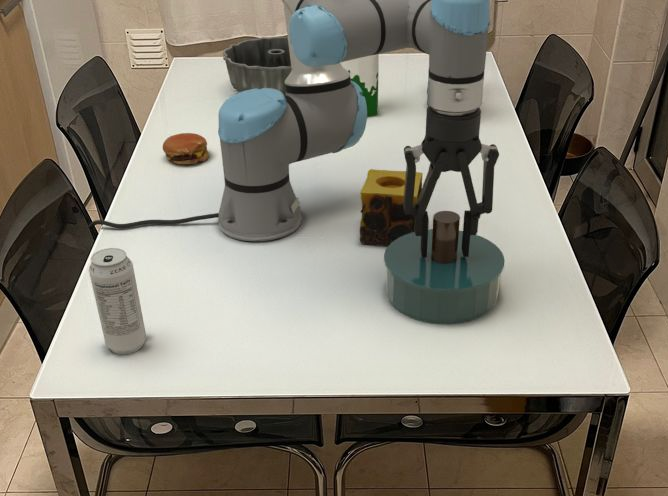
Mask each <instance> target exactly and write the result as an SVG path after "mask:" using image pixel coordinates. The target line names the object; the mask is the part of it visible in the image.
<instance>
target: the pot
mask: <svg viewBox="0 0 668 496" xmlns="http://www.w3.org/2000/svg"><path fill="white" fill-rule="evenodd" d="M385 277H386V279H385V288H386V289H385V290H386V299H387V300H388V302H389V304H390V305H391V306H392V307H393V308H394V309H395V310H396V311H397V312H399V313H400V314H402V315H404V316H406V317H408V318H410V319H413V320H416V321H419V322H423V323H428V324H436V325H456V324H457V325H458V324H463V323H468V322H472V321H475V320H477V319H479V318H481V317H483V316H485V315H487V314H489V312H491V310H493V309H494V307H495V306H496V304H497V301H498V296H499V290H500V283H501V275H500V276H499V277H498V278H497V279H496V280H494V281H493V282H492V283H490V284H488V285H486V286H483V287H481V288H478V289H474V290H469V291H463V292H451V293H448V292H433V291H427V290H422V289H418V288H415V287H412V286H409V285H407V284H404V283H403V282H401V281H399V280H397V279H396V278H395V277H393V276H392V275H391V274H390V273H389V271H388V270H387V269H386V273H385Z"/></svg>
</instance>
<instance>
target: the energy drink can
mask: <svg viewBox="0 0 668 496" xmlns="http://www.w3.org/2000/svg"><path fill="white" fill-rule="evenodd" d="M90 261H91V262H90V264H89V268H88V273H89V277H90V282H91V286H92V291H93V295H94V299H95V304H96V309H97V313H98V318H99V321H100V326H101V330H102V331H101V332H102V335H103V339H104V344H105V346H106V347H107V348H108V349H110V351H112V352H113V353H115V354H118V355H128V354H132V353H135V352H137V351H139V350H140V349H142V347H143V345H144V344H145V341H146V340H147V332H146V327H145V321H144V316H143V310H142V306H141V302H140V301H141V300H140V296H139V290H138V284H137V280H136V274H135V269H134V264H133V263H134V262H133V261H132V260H131V259H130V258H129V257H128V256H127V252H126V251H125V250H124V249H121V248H118V247H107V248H102V249H100V250H98V251H96V252H94V253H93V254H92V255H91V257H90Z"/></svg>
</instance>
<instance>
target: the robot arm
mask: <svg viewBox="0 0 668 496" xmlns="http://www.w3.org/2000/svg"><path fill="white" fill-rule="evenodd" d="M281 2H282V5H283V11H284V19H285V26H286V27H285V28H286V34H287V35H286V37H288V44H289V52H290V60H291V67H292V71H291V73H290V74H289V76H288V77H287V78H286V80H285V88H286V95H283V93H282V92H280V91H279V90H276V89H272V88H262V89H257V88H256V89H250V90H246V91H243V92H238V93H236V94H233V95H231V96H230V97H228V98H226V99H225V100H224V102H223V103H222V105H221V106H220V107H219V109H218V128H217V129H218V130H217V134H218V137H219V144H220V152H221V153H220V154H221V160H222V171H223V179H224V180H223V181H224V189H223V192H222V196H221V201H220V206H219V210H218V212H215V213H208V214H202V215H201V214H200V215H195V216H189V217H185V218H179V219H178V218H177V219H145V220H138V221H133V222H127V223H116V222H111V221H108V220H103V219H96V220H93V221H91V222H90V223H89V224H88V225H87V227H86V228H87V229H92V228H94V227H95V226H97V225H102V226H106V227H110V228H114V229H127V228H128V229H129V228H134V227H140V226H146V225H178V224H186V223H191V222H196V221H197V222H198V221H202V220H209V219H217V218H218V227H219V229H220V230H221V232H222V233H223V234H224V235H226V236H228V237H230V238H232V239H235V240H239V241H244V242H267V241H268V242H269V241H274V240H277V239H282V238H284V237H286V236H289V235H291V234H292V233H294V232H295V231H297V230H298V229H299V228H300V226H301V225H302V210H301V206H300V204H301V203H300V200H299V198H298V197H297V196H296V194H295V191H294V189H293V186H292V184H291V180H290V165H292V164H294V163H299V162H301V161H307V160H309V159H314V158H318V157H321V156H325V155H328V154H337V153H339V152H341V151H343V150H347V149H349V148H351V147H354V146H355V145H356V144H358V143H359V142H360V139H361V138H362V137H363V135H364V133H365V131H366V128H367V122H368V116H367V105H366V100H365V97H364V96H362V93H363V92H362V90H361V88H360V87H359V85H357V84H356V83H355V82H353V81H351V79H350V73H349V72H348V71H347V70H346V69H344V68H343V67H342V66H341V64H340V62H344V61H348V60H353V59H357V58H361V57H366V56H371V55H377V54H379V55H381V54H385V53H390V52H395V51H399V50H400V51H401V50H404V49H413V50H416V51H419V52H421V53H423V54H426V55H429V56H428V72H427V73H428V75H427V76H428V77H427V87H428V92H427V91H426V104H427V103H428V105H429V106H428V105H427V108H426V116H425V134H424V138H423V139H422V141H421V143H420V144H419V145H416V146H411V145H405V147H404V148H403V154H404V160H405V163H406V168H405V171H406V177H405V189H404V200H403V207H404V213H405V214H406V215H410V214H411V215H413V216H414V217H415V224H414V230H415V235H416V236H421V255H422V257H427V243H428V229H429V223H430V221H429V220H430V218H429V213H428V210H427V209H428V206H429V203H430V202H431V199H432V196H433V193H434V191H435V188H436V185H437V183H438V180H439V179H440V177H441V174H442V173H447V172H456V173H461V178H462V182H463V186H464V191H465V194H466V199H467V203H468V207H469V210H467V209H466V210H464V213H463V223H462V231H463V235H462V253H463V257H468V256H469V244H470V235H478V231H479V221H480V218H481V216H482V215H483V214H491V213H492V212H493V204H494V203H493V202H494V185H495V184H494V182H495V181H494V180H495V167H496V164H497V162H498V160H499V157H500V152H499V150H498V147H497V145H496V144H495V143H491V144H489V145H488V144H484V143H482V141H481V139H480V130H481V129H480V128H481V116H482V109H481V106H482V104H483V95H484V94H483V93H484V81H485V80H484V79H485V70H486V59H487V49H488V39H489V31H490V26H491V19H490V15H491V14H490V9H491V0H281ZM479 154H480V156H481V159H482V161H483V166H482V167H483V168H482V189H481V190H482V193H481V201H479V202H478V200H477V196H476V192H475V187H474V184H473V178H472V175H471V171H470V164H471V163H472V162H473V161H474V160H475V158H476V157H477V156H478V155H479ZM422 155H424V156H425V157H426V159H427V160H428V162H429V163H430V164H429V165H428V170H427V173H426V176H425V178H424V182H423V183H422V189H421V192H420V195H419V198H418V200H417V203H416V204H413V198H414V187H415V177H416V172H417V164H418V163H419V162H420V160H421V156H422Z"/></svg>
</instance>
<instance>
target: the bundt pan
mask: <svg viewBox="0 0 668 496" xmlns="http://www.w3.org/2000/svg"><path fill="white" fill-rule="evenodd" d="M222 56H223V57H222V59H223V61H225V65H226V69H227V74H228V78H229V82H230V84H231V87H232V88H233V89H234V90H235V91H237V92H238V93H240V92H243V91H246V90H250V89H256V88H257V89H262V88H272V89H276V90H279V91H280V92H282V93H283V95H286V88H285V80H286V78H287V77H288V76H289V74H290V73H291V71H292V67H291V60H290V52H289V44H288V36H272V37H267V36H265V37H264V36H262V37H259V38H251V39H244V40H241V41H239V42H237V43H233V44H230V45H229V47H227V48H225V49H224V50H223V51H222Z"/></svg>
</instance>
